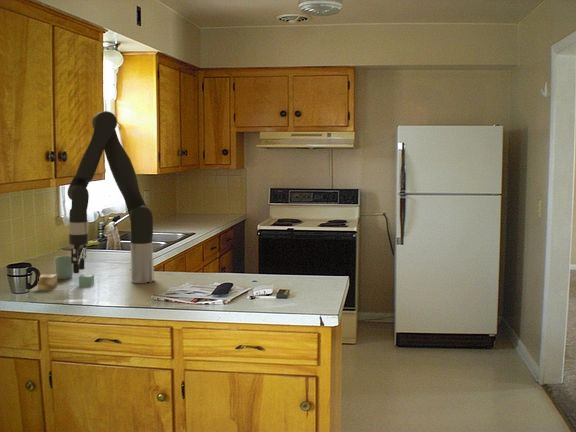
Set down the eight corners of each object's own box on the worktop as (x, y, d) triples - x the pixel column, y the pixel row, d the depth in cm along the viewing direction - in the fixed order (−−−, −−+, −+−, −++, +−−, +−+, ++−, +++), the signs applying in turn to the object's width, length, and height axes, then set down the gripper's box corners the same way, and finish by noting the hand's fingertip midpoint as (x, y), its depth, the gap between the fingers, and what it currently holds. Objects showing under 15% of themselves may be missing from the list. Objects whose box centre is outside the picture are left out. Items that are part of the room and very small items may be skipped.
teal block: (94, 286, 285) (93, 274, 284) (91, 288, 280) (91, 276, 279) (82, 286, 284) (81, 274, 284) (79, 288, 279) (78, 277, 279)
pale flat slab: (75, 287, 282) (75, 284, 282) (69, 292, 272) (69, 290, 272) (37, 287, 281) (36, 285, 281) (29, 293, 271) (29, 290, 271)
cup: (54, 282, 292) (53, 259, 291) (55, 278, 300) (54, 256, 299) (73, 281, 295) (72, 258, 293) (74, 277, 302) (73, 255, 301)
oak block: (57, 286, 279) (57, 274, 279) (53, 289, 273) (52, 277, 273) (42, 286, 279) (42, 274, 278) (38, 289, 273) (37, 277, 273)
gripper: (83, 235, 273) (83, 274, 274) (91, 230, 287) (92, 268, 288) (64, 234, 272) (65, 274, 274) (73, 230, 286) (74, 268, 288)
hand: (79, 271), depth 281 cm, fingers open, 8 cm apart
